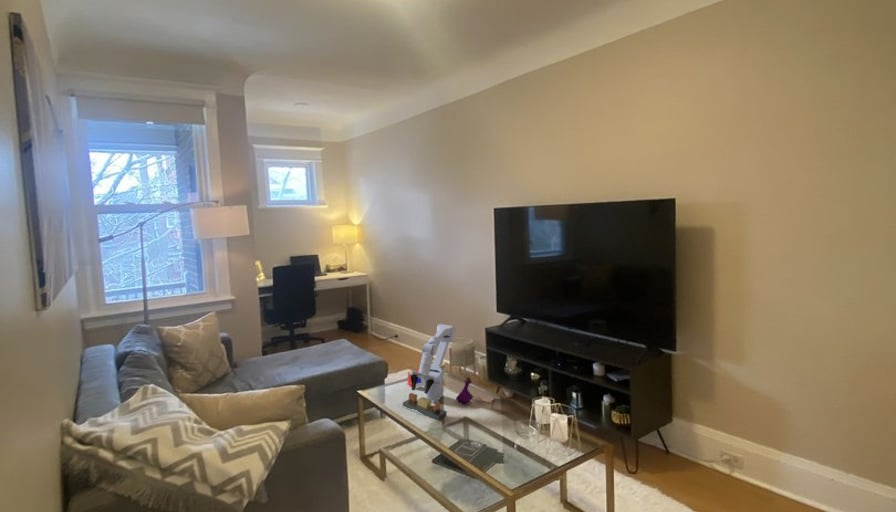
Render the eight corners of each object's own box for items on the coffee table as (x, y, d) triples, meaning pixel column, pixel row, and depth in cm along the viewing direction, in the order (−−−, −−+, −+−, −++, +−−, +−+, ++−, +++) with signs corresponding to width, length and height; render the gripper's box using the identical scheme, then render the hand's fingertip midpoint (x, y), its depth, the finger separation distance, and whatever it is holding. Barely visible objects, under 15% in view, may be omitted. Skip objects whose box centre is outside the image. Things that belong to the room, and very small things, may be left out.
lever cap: (422, 403, 253) (422, 396, 252) (431, 407, 249) (431, 400, 249) (417, 406, 250) (417, 399, 249) (426, 409, 246) (426, 402, 246)
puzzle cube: (418, 381, 288) (419, 369, 286) (425, 386, 281) (425, 374, 280) (407, 384, 283) (407, 371, 282) (413, 389, 277) (414, 376, 276)
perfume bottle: (473, 401, 263) (474, 371, 261) (467, 407, 257) (469, 375, 254) (460, 398, 266) (462, 368, 264) (455, 404, 260) (456, 373, 257)
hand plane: (410, 402, 260) (411, 390, 259) (446, 415, 246) (447, 403, 245) (402, 406, 254) (403, 394, 253) (438, 420, 240) (439, 407, 239)
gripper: (416, 362, 245) (410, 388, 240) (440, 369, 251) (434, 395, 246) (411, 362, 251) (404, 388, 246) (434, 369, 257) (428, 394, 252)
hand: (419, 391), depth 246 cm, fingers open, 7 cm apart
